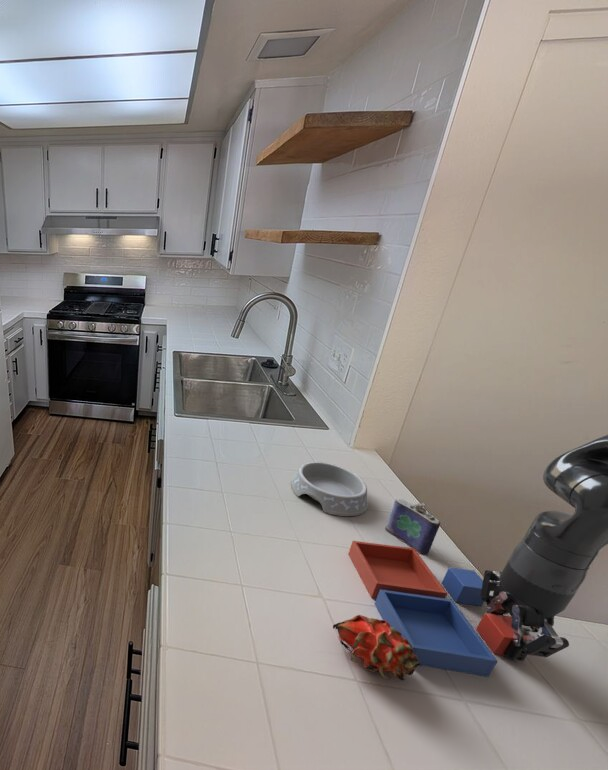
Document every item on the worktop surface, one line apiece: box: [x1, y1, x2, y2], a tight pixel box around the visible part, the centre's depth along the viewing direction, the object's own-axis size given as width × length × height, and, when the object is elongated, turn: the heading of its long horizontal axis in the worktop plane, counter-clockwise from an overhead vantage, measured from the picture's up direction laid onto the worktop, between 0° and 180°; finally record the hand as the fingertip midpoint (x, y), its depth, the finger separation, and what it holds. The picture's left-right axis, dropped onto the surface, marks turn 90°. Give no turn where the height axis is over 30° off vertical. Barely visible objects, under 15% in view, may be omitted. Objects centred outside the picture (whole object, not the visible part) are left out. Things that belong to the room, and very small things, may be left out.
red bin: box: [347, 540, 448, 599], centre depth 80 cm, size 12×11×4 cm
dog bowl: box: [290, 461, 368, 517], centre depth 105 cm, size 17×18×5 cm
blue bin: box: [374, 589, 498, 678], centre depth 68 cm, size 12×11×4 cm
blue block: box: [441, 567, 485, 607], centre depth 76 cm, size 4×4×4 cm
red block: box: [475, 612, 527, 657], centre depth 67 cm, size 4×4×4 cm
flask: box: [384, 498, 441, 556], centre depth 88 cm, size 9×3×11 cm, turn 21°
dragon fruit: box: [332, 614, 421, 681], centre depth 65 cm, size 8×8×12 cm
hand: (499, 642), depth 68 cm, fingers closed on red block, 4 cm apart
